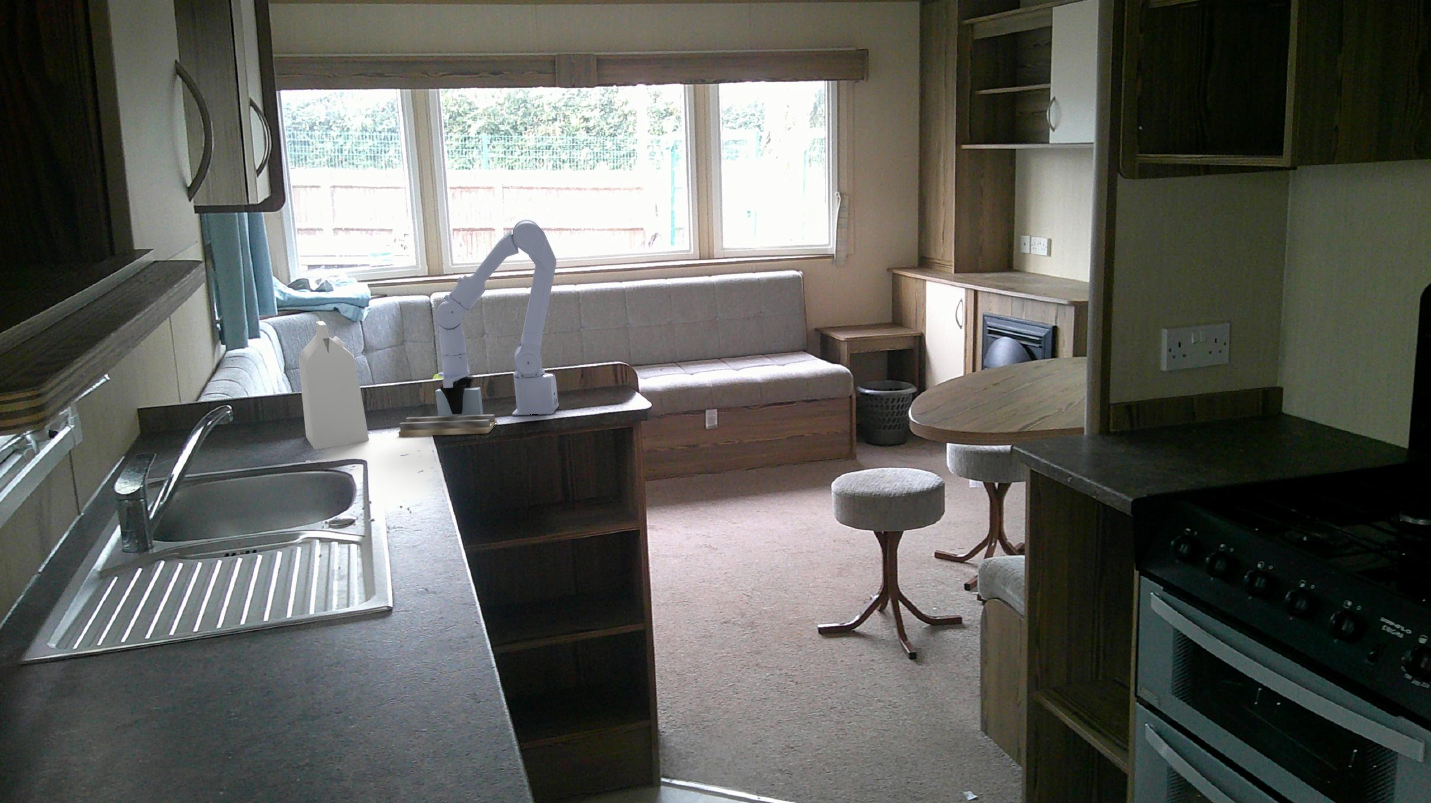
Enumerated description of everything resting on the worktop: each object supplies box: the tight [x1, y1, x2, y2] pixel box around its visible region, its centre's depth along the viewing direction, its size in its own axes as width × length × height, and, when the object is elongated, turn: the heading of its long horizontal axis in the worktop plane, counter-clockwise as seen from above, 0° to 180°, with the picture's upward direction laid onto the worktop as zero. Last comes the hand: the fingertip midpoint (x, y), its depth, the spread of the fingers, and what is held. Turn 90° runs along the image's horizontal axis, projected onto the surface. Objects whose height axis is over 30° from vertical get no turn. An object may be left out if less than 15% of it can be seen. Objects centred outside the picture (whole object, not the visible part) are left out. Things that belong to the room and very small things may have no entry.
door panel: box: [434, 387, 484, 416], centre depth 264 cm, size 10×2×7 cm, turn 86°
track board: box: [397, 414, 498, 437], centre depth 255 cm, size 20×8×2 cm, turn 86°
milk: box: [298, 320, 370, 450], centre depth 250 cm, size 12×12×26 cm
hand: (460, 411), depth 264 cm, fingers open, 4 cm apart
